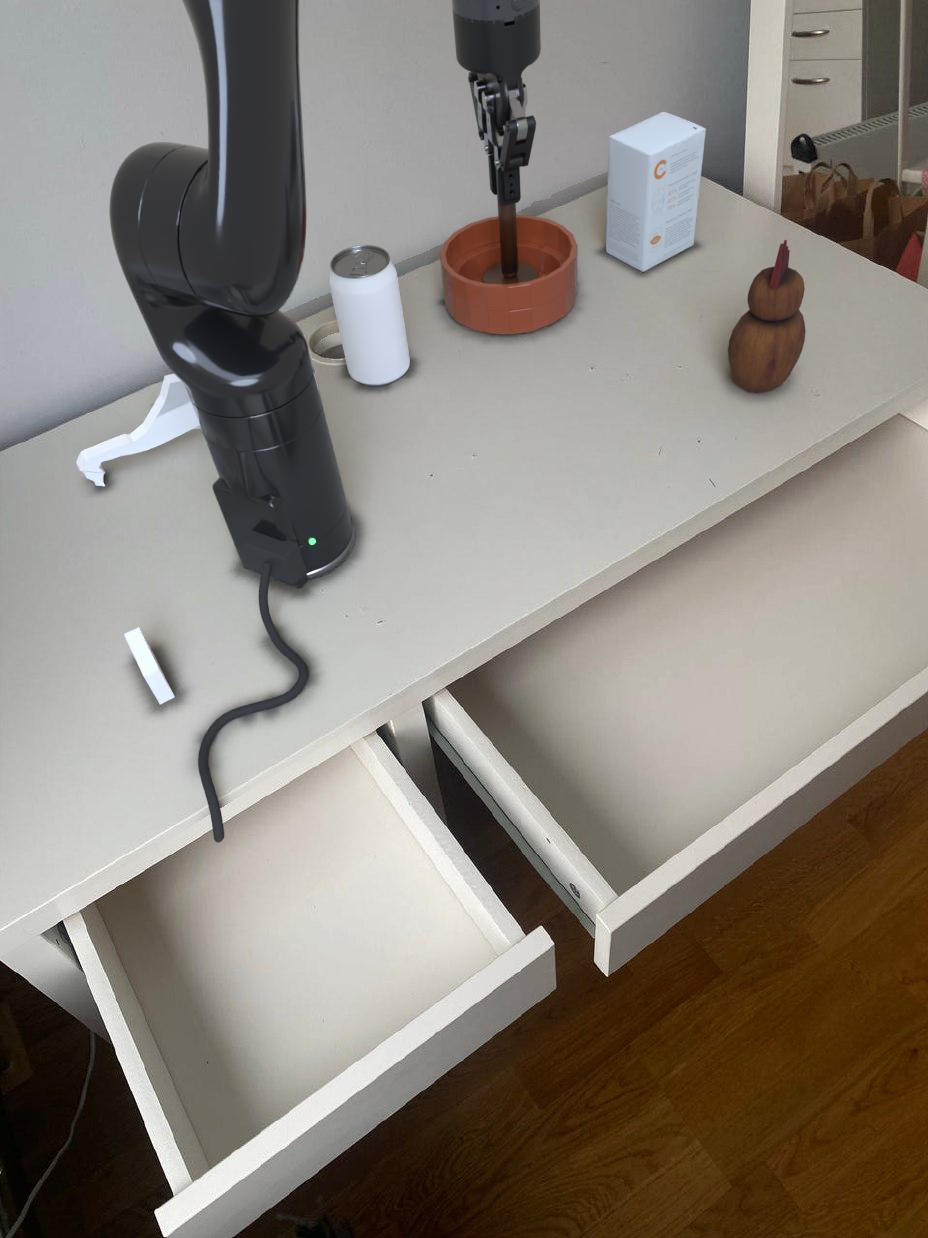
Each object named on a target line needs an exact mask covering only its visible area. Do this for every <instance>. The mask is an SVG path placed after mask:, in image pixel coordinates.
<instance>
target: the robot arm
mask: <svg viewBox="0 0 928 1238" xmlns="http://www.w3.org/2000/svg"><path fill="white" fill-rule="evenodd" d="M181 1H182V4H183V6H184V9H185V11H186V14H187V16H188V19H189V22H190V24H191V28H192V31H193V33H194V37H195V40H196V42H197V47H198V51H199V56H200V61H201V67H202V73H203V74H202V75H203V81H204V89H205V90H204V91H205V100H206V101H205V102H206V118H207V119H206V120H207V148H206V147H201V146H195V145H191V144H190V145H189V144H185V143H180V142H179V143H178V142H170V141H156V142H150V143H145V144H144V145H141V146H139V147H138V148H136V149H133V151H132V152H130V153H129V154H128V155H127V156H126V157H125V158H124V159H123V161H122V162H121V164H120V165H119V167H118V169H117V171H116V173H115V176H114V177H113V181H112V184H111V189H110V197H109V206H108V207H109V209H108V211H109V225H110V232H111V237H112V242H113V246H114V250H115V255H116V257H117V261H118V263H119V265H120V268H121V270H122V273H123V276H124V278H125V281H126V283H127V285H128V287H129V290H130V293H131V294H132V296H133V298H134V301H135V303H136V305H137V308H138V309H139V312H140V314H141V316H142V319H143V321H144V323H145V325H146V327H147V330H148V331H149V334H150V336H151V338H152V340H153V343H154V345H155V347H156V349H157V351H158V352H159V353H158V354H159V355H160V357H161V359H162V360H163V362H164V364H165V365H166V366H167V368H168V369H169V370H170V371H171V372H172V374H175V375H176V376H177V377H178V378H179V379H180V380H181V381H182V383H183V384H184V386H185V388H186V390H187V393H188V395H189V398H190V400H191V403H192V405H193V408H194V411H195V413H196V416H197V419H198V421H199V424H200V427H201V429H200V430H201V433H202V435H203V437H204V441H205V442H206V445H207V448H208V450H209V454H210V456H211V458H212V461H213V464H214V467H215V469H216V473H217V474H218V478H217V479H216V480H215V481H214V482H213V484H212V485H211V487H212V491H213V494H214V497H215V499H216V502H217V504H218V506H219V509H220V511H221V514H222V516H223V519H224V522H225V524H226V527H227V529H228V532H229V534H230V537H231V541H232V542H233V545H234V548H235V550H236V552H237V555H238V557H239V560H240V562H241V565H242V568H244V569H247V570H249V571H252V572H254V573H257V574H259V575H260V578H259V586H258V608H259V613H260V617H261V621H262V623H263V625H264V627H265V630H266V632H267V635H268V636H269V638H270V640H271V642H272V643H273V645H274V646H275V648H276V649H277V650H278V651H279V652H280V653H281V654H282V655H283V656H284V657H285V658H287V659H288V660H289V661H290V662H292V664H294V666H295V667H296V668H297V671H298V678H297V679H296V682H295V683H294V685H293V686H292V687H291V688H290V689H289V690H287V691H286V692H284V693H282V694H279V695H277V696H274V697H271V698H267V699H264V700H259V701H256V702H252V703H248V704H245V705H241V706H238V707H235V708H232V709H230V710H229V711H227V712H224V713H223V714H222V715H220V716H219V717H217V718H216V719H215V720H214V721H213V722H212V724H211V725H210V726H209V727H208V729H207V731H206V732H205V733H204V735H203V738H202V740H201V743H200V746H199V749H198V755H197V765H198V766H197V767H198V773H199V777H200V781H201V785H202V788H203V791H204V792H203V793H204V794H205V798H206V802H207V806H208V810H209V815H210V821H211V827H212V834H213V840H214V842H215V843H221V842H223V840H224V839H225V829H224V827H225V826H224V822H223V821H224V820H223V816H222V815H223V814H222V810H221V806H220V800H219V798H218V793H217V791H216V787H215V785H214V780H213V778H212V773H211V770H210V763H209V755H210V750H211V746H212V745H213V741H214V740H215V739H216V736H217V734H218V733H219V732H220V731H221V730H222V729H223V727H225V726H226V725H227V724H228V723H230V722H232V721H234V720H236V719H239V718H241V717H244V716H248V715H251V714H254V713H258V712H263V711H267V710H271V709H274V708H278V707H281V706H283V705H285V704H288V703H289V702H291V701H293V700H294V699H296V698H297V697H298V696H299V695H300V694H301V693H303V690H304V689H305V687H306V685H307V683H308V679H309V668H308V665H307V664H306V662H305V660H304V659H303V658H302V657H301V656H300V655H299V654H297V652H295V651H294V649H292V648H291V647H290V646H288V645H287V643H285V641H283V638H282V637H281V636H280V634H279V632H278V631H277V628H276V626H275V624H274V621H273V619H272V617H271V613H270V607H269V585H270V579H271V580H273V581H278V582H280V583H282V584H286V585H287V586H290V587H293V588H295V589H302V588H303V587H304V586H305V585H306V583H308V582H309V581H310V580H313V579H317V578H319V577H322V576H324V575H327V574H328V573H329V572H331V571H334V569H336V568H337V567H339V566H340V565H341V564H342V563H343V562H345V560H346V559H347V558H348V557H349V555H350V554H351V552H352V550H353V547H354V545H355V541H356V529H355V526H354V521H353V519H352V517H351V514H350V510H349V505H348V501H347V497H346V493H345V489H344V485H343V482H342V477H341V473H340V470H339V466H338V462H337V457H336V453H335V449H334V445H333V442H332V437H331V433H330V429H329V424H328V421H327V416H326V413H325V409H324V405H323V400H322V396H321V392H320V388H319V384H318V380H317V376H316V375H317V374H316V372H315V368H314V367H315V366H314V363H313V359H312V354H311V351H310V347H309V343H308V341H307V337H306V336H305V334H304V332H303V330H302V328H301V327H300V326H299V325H298V324H297V322H295V321H294V320H293V319H292V318H291V317H289V316H288V315H287V314H285V313H284V312H282V311H281V310H280V309H281V308H282V307H284V306H285V305H286V304H287V303H288V301H289V299H290V298H291V296H292V295H293V293H294V291H295V289H296V286H297V284H298V281H299V278H300V274H301V271H302V266H303V262H304V258H305V252H306V251H305V250H306V240H307V239H306V237H307V219H308V218H307V215H308V214H307V213H308V211H307V187H306V186H307V185H306V184H307V183H306V182H307V181H306V163H305V146H304V143H305V142H304V127H303V108H302V91H301V71H300V70H301V69H300V0H181ZM451 6H452V8H451V9H452V19H453V20H452V21H453V30H454V31H453V32H454V33H453V35H454V42H455V43H454V45H455V57H456V61H457V63H458V65H459V66H460V67H461V68H462V69H464V70H466V71H468V77H467V81H468V84H469V89H470V95H471V99H472V104H473V109H474V115H475V121H476V124H477V130H478V132H477V134H478V137H479V139H480V141H484V143H483V144H484V145H483V149H484V152H485V154H486V156H487V161H488V174H489V175H488V177H489V189H490V191H491V193H492V195H495V196H496V197H497V198H496V201H497V203H498V202H499V203H500V205H502V206H505V205H510V204H514V203H516V204H518V203H519V202H520V201H521V198H522V197H521V196H522V194H521V191H522V190H521V168H522V167H523V168H524V167H528V166H529V164H530V163H529V162H530V158H531V154H532V149H533V143H534V139H535V133H536V129H537V120H536V118H535V115H533V114H532V115H528V116H527V115H526V107H527V105H528V89H527V85H526V83H525V82H523V77H522V75H523V72H524V70H526V69H527V68H528V67H529V66H531V65H533V64H534V63H535V62H536V61H537V60H538V59H539V57H540V56H541V55H540V54H541V50H542V47H541V46H542V45H541V41H542V40H541V0H451Z"/></svg>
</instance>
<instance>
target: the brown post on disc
mask: <svg viewBox="0 0 928 1238" xmlns="http://www.w3.org/2000/svg"><path fill="white" fill-rule="evenodd" d="M497 215H498V218H499V236H500V253H501V262H500V263H497V264H494V265H492V266H490V267H489V268H488V269H486V270H485V272H484V273H483V276H482V282H483V283H486V284H515V283H522V282H529V281H532V280H535V279H537V278H538V271H537V269H536V268H535V267H534V266H533V265H531V264H529V263H526V262H522V261H518V247H517V223H516V215H517V203H514V204H510V205H505V206H502V205H500V203H499V202H498V201H497Z"/></svg>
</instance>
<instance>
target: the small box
mask: <svg viewBox="0 0 928 1238" xmlns="http://www.w3.org/2000/svg"><path fill="white" fill-rule="evenodd" d="M706 133H707V128H705V127H703V126H701V125H700V124H697V123H694V122H693V121H690V120H688V119H685V118H682V117H680V116H678V115H674V114H672V113H669V112H668V111H667V112H666V111H661V112H659V113H657V114H655V115H653V116H651V117H648V118H646V119H644V120H642V121H640V122H638V123H635V124H633V125H631V126H629V127H627V128H624V129H623V130H619V131H618V132H616V133H613V134H611V135H609V136H608V160H607V162H608V163H607V194H606V231H605V233H606V234H605V252H606V253H607V254H609V255H610V256H612V257H614V258H616V259H618V260H620V261H621V262H623V263H625V264H627V265H629V266H631V267H632V268H634V269H636V270H638V271H640V272H642V273H645V272H646V271H648V270H650V269H652V268H654V267H655V266H657V265H659V264H661V263H663V262H664V261H666V260H668V259H670V258H672V257H674V256H676V255H677V254H679V253H681V252H683V251H685V250H687V249H689V248H691V247H693V246H694V245H695V234H696V226H697V218H698V217H697V215H698V208H699V207H698V206H699V197H700V189H701V181H702V178H701V177H702V171H703V170H702V169H703V161H704V151H705V144H706V143H705V141H706Z"/></svg>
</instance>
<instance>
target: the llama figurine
mask: <svg viewBox="0 0 928 1238" xmlns="http://www.w3.org/2000/svg"><path fill="white" fill-rule="evenodd" d="M191 430H201V427H200V424H199V421H198V419H197V416H196V413H195V411H194V408H193V405H192V403H191V400H190V398H189V395H188V393H187V390H186V388H185V386H184V384H183V383H182V381H181V380H180V379H179V378H178V377H177V376H176V375H175V374H174V373H171V374H165V375H164V376H163V379H162V385H161V389H160V393H159V395H158V397H157V399H156V400H155V402H154V403H153V405H152V407H151V408H150V411H149V412H148V413H147V415H146V417H145V419H144V420H143V421H142V423H141V424H140V425H139V426H137V427H136V428H135V429H133V430H132V431H131V432H130V433H123V434H120V435H117V436H115V437H112V438H109V439H107V440H105V441H102V442H100V443H98V444H95V445H93V446H90V447H88V448H85V449H83V450H81V451H80V453H79V454H78V457H77V459H76V462H75V464H76V466H77V468H78V470H79V472H80V473H81V472H82V473H83V474H84V477H86V479H88V480H90V481H92V482H93V483H94V484H95V486H96V487H106V484H105V483H104V476H105V474H106V471H105V469H104V468H103V466H102V463H103V462H107V461H111V460H114V459H117V458H119V457H123V456H131V455H135V454H139V453H142V452H146V451H148V450H149V451H150V450H152V449H155V448H156V447H160V446H161V445H163V444H165V443H167V442H169V441H172V440H174V439H175V438H177V437H179V436H181V435H183V434H186V433H187V432H189V431H191Z"/></svg>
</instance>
